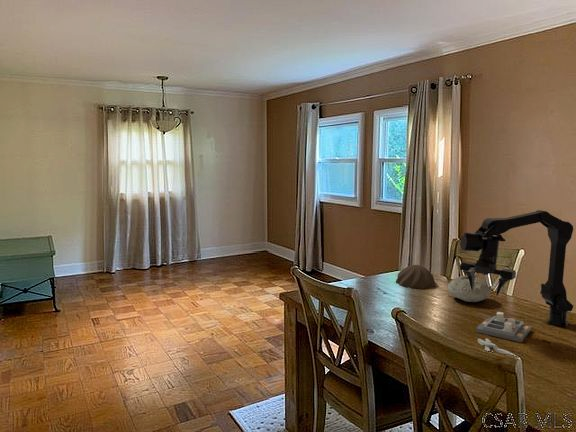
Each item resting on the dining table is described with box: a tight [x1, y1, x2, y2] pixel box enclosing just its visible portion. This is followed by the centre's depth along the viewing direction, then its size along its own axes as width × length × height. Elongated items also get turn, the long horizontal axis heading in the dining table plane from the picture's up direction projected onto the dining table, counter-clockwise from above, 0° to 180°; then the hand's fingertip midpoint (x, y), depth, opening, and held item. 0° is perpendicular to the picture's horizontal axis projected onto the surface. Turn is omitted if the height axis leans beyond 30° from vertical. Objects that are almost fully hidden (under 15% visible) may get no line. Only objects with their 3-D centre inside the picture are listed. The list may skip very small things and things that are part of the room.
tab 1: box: [495, 311, 505, 322], centre depth 164 cm, size 3×3×4 cm
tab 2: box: [503, 321, 514, 332], centre depth 154 cm, size 3×3×4 cm
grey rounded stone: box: [447, 275, 492, 303], centre depth 196 cm, size 18×18×10 cm
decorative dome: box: [395, 264, 436, 290], centre depth 224 cm, size 19×20×10 cm
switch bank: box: [475, 315, 532, 343], centre depth 159 cm, size 14×15×3 cm
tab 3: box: [508, 317, 517, 328], centre depth 158 cm, size 3×3×4 cm
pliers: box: [477, 338, 519, 357], centre depth 143 cm, size 10×2×15 cm
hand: (484, 292), depth 165 cm, fingers open, 9 cm apart
